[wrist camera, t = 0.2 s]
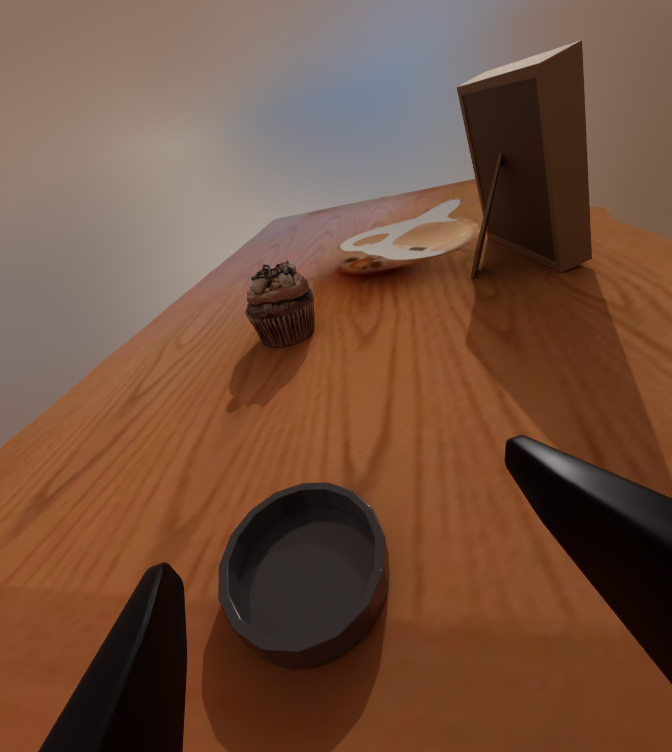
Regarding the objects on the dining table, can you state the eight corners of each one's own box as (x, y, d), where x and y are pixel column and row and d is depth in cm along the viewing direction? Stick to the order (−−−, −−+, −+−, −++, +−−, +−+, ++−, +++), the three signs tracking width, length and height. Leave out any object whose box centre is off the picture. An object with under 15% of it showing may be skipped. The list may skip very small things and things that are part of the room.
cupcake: (315, 312, 57) (299, 247, 52) (325, 339, 49) (308, 266, 44) (255, 328, 57) (233, 265, 51) (256, 358, 49) (229, 287, 43)
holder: (417, 626, 20) (414, 605, 19) (235, 701, 19) (217, 685, 17) (359, 485, 28) (354, 464, 27) (231, 532, 27) (218, 512, 26)
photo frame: (509, 232, 69) (520, 63, 55) (590, 265, 51) (636, 26, 37) (433, 251, 69) (424, 87, 55) (487, 290, 51) (494, 61, 37)
